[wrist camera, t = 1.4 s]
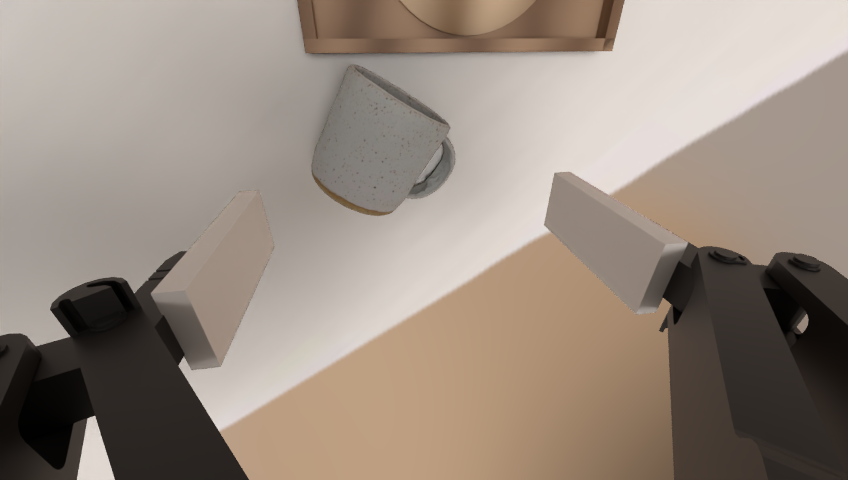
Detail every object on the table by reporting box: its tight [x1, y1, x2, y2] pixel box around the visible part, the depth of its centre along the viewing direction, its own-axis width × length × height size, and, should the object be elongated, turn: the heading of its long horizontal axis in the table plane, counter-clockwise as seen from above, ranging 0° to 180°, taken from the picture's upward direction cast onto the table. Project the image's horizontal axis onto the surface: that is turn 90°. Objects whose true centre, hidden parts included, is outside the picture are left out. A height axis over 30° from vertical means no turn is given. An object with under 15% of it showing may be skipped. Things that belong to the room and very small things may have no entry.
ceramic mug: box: [312, 65, 455, 216], centre depth 24 cm, size 11×8×8 cm
